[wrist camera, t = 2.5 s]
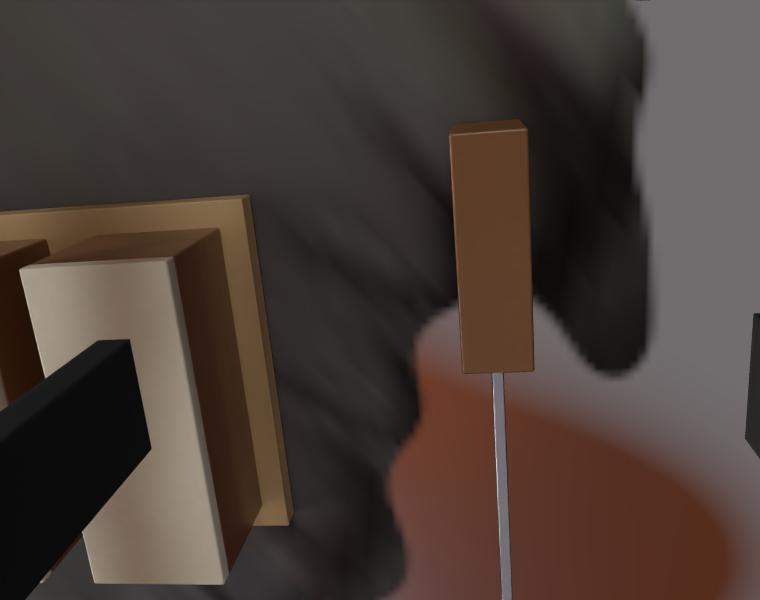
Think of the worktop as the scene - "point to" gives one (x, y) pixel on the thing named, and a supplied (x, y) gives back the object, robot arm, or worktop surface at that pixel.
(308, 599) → the worktop surface
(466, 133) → the knife
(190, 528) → the cake
